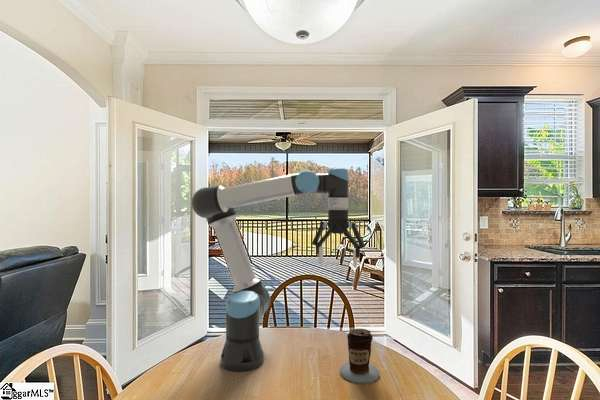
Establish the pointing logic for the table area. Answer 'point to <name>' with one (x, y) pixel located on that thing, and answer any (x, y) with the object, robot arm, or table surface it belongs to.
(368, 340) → the coffee cup
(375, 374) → the grey domed puck
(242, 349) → the robot arm
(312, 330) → the table surface
